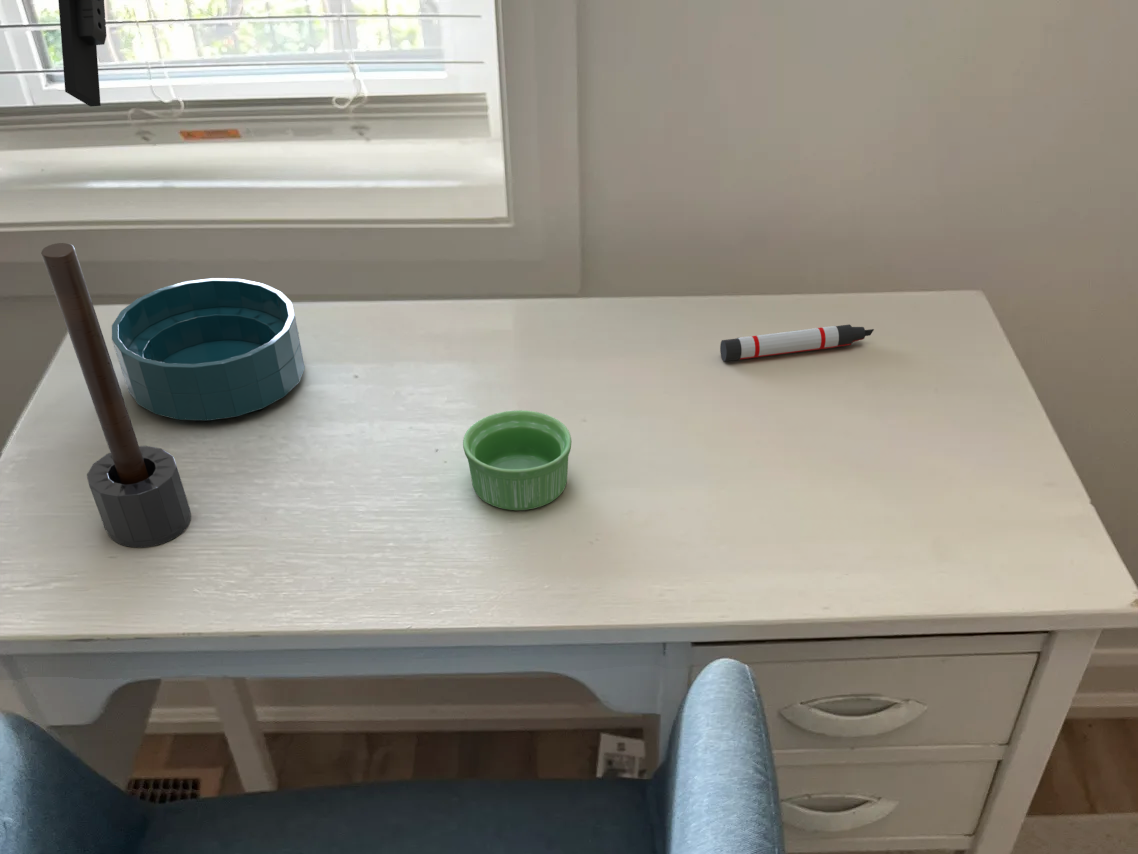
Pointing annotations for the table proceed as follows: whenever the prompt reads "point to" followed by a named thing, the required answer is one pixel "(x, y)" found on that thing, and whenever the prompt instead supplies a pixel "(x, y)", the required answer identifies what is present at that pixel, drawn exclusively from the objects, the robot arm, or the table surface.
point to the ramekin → (518, 458)
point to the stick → (94, 360)
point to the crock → (141, 500)
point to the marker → (791, 342)
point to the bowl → (209, 348)
